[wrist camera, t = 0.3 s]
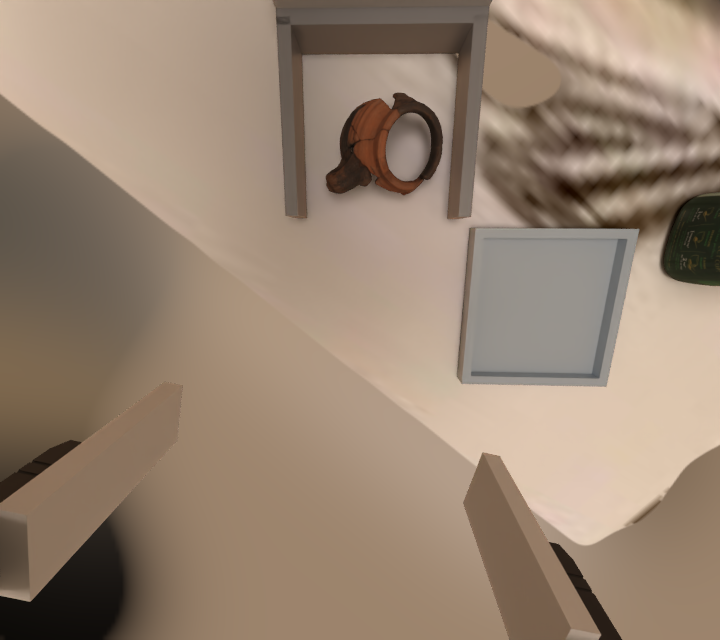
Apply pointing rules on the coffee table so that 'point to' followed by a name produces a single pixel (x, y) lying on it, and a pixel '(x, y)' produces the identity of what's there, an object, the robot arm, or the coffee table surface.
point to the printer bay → (382, 36)
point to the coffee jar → (696, 242)
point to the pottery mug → (380, 146)
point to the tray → (543, 305)
